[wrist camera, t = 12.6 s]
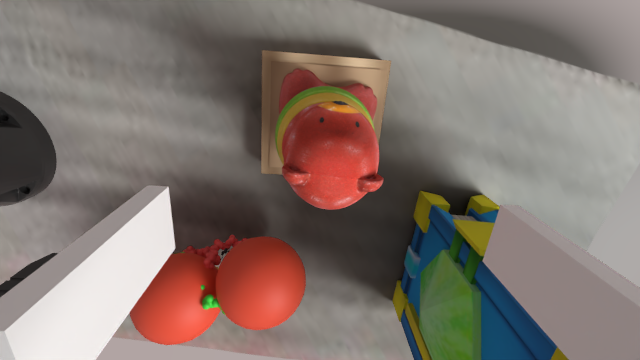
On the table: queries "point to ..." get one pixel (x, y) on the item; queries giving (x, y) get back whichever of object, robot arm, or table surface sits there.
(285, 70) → the oak stand
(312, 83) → the stacking bear
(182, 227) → the table surface
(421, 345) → the decorative book
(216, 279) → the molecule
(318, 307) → the table surface
